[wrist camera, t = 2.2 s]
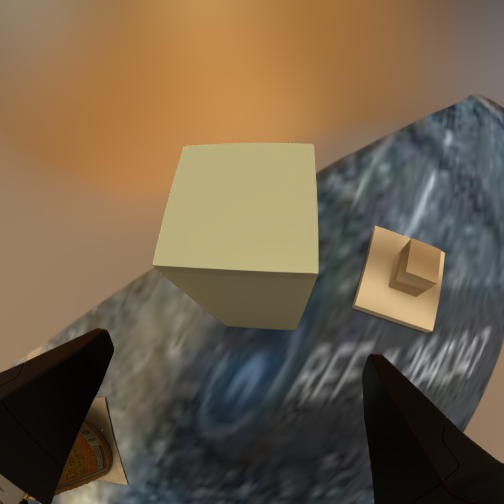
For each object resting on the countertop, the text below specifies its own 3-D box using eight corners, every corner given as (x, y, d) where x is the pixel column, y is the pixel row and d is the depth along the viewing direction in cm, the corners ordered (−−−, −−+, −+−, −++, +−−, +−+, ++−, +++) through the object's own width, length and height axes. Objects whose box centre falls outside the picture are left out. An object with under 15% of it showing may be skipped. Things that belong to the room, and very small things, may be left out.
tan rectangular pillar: (296, 330, 20) (318, 273, 8) (226, 325, 21) (152, 264, 9) (298, 264, 22) (313, 144, 10) (233, 261, 23) (184, 146, 11)
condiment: (71, 473, 15) (-18, 493, 4) (52, 396, 19) (-46, 386, 8) (129, 484, 15) (37, 529, 4) (107, 397, 19) (-5, 396, 8)
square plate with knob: (426, 332, 18) (456, 323, 14) (351, 307, 20) (368, 292, 16) (439, 257, 21) (464, 234, 17) (372, 230, 22) (388, 202, 18)
